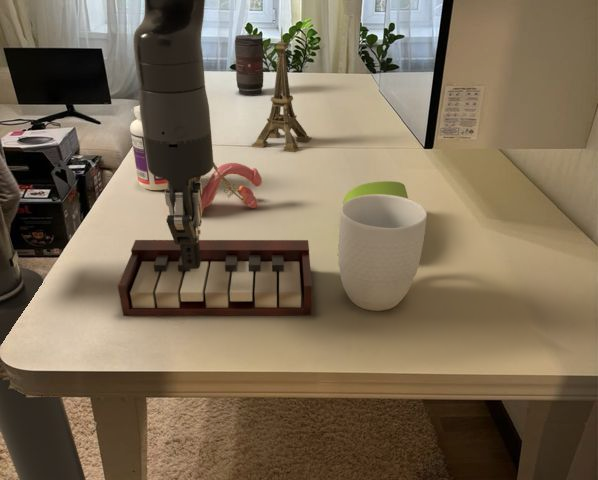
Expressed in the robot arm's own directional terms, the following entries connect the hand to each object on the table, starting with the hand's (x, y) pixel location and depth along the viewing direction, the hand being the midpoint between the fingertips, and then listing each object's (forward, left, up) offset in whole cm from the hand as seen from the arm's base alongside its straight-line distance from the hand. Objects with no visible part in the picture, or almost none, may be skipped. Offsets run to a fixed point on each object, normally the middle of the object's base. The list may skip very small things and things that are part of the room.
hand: (192, 266), depth 77 cm
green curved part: (+28, +22, -6) cm, 36 cm away
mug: (+25, +3, -6) cm, 26 cm away
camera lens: (+3, +119, -6) cm, 119 cm away
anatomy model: (0, +34, -6) cm, 34 cm away
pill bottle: (-12, +45, -6) cm, 47 cm away
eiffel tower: (+12, +72, -6) cm, 73 cm away
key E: (0, +2, -4) cm, 5 cm away
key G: (+6, +2, -4) cm, 8 cm away
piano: (+3, +4, -6) cm, 8 cm away
